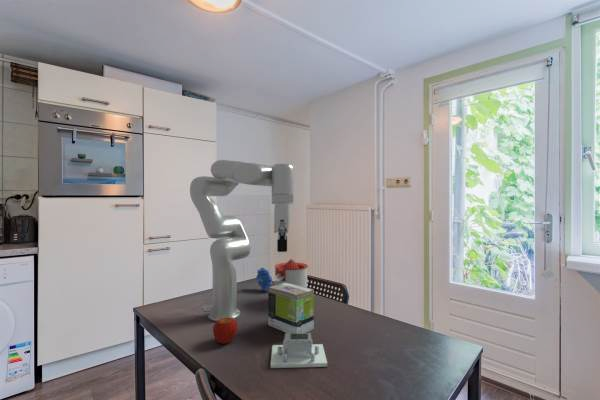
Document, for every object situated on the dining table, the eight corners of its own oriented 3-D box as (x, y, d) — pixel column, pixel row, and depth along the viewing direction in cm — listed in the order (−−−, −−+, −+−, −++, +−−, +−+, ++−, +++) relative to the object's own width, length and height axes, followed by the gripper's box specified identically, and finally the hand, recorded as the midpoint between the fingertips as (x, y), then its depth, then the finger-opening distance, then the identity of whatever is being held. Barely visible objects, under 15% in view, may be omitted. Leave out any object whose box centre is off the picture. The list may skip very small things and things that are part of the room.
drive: (284, 357, 85) (284, 340, 85) (285, 349, 90) (285, 332, 90) (311, 357, 85) (311, 340, 85) (310, 349, 90) (310, 332, 90)
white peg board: (270, 368, 81) (270, 357, 81) (272, 348, 92) (272, 338, 92) (327, 366, 82) (327, 355, 82) (322, 347, 93) (322, 337, 93)
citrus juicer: (264, 303, 133) (264, 260, 134) (290, 294, 147) (290, 254, 147) (289, 311, 123) (289, 264, 124) (314, 301, 137) (314, 258, 137)
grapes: (250, 290, 154) (250, 267, 154) (260, 287, 159) (260, 265, 159) (265, 294, 146) (265, 271, 146) (275, 291, 151) (275, 268, 151)
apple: (211, 338, 99) (212, 315, 99) (235, 334, 102) (235, 312, 102) (214, 348, 92) (214, 324, 92) (239, 344, 95) (239, 320, 95)
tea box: (314, 329, 107) (314, 288, 107) (295, 338, 99) (296, 295, 99) (286, 318, 117) (286, 281, 117) (267, 325, 109) (267, 286, 110)
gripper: (272, 200, 109) (272, 245, 109) (270, 199, 92) (270, 253, 91) (292, 200, 109) (292, 245, 109) (293, 199, 92) (293, 253, 92)
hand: (282, 249), depth 100 cm, fingers open, 9 cm apart
